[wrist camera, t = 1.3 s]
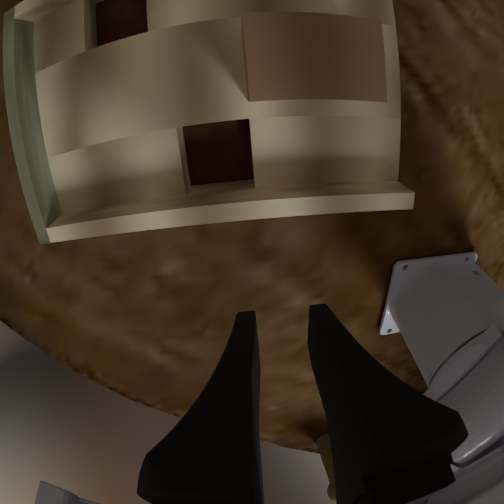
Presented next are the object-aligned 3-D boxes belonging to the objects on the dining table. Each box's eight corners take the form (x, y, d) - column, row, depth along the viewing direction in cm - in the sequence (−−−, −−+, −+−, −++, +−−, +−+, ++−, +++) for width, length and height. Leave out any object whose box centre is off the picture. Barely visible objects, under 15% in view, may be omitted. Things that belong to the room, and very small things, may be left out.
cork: (311, 446, 39) (320, 506, 29) (323, 431, 36) (335, 497, 26) (345, 443, 39) (357, 500, 30) (360, 427, 36) (376, 489, 27)
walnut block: (351, 34, 12) (381, 20, 9) (355, 99, 14) (387, 102, 11) (241, 32, 12) (241, 13, 9) (247, 100, 14) (249, 101, 11)
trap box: (373, -31, 11) (400, -50, 7) (385, 187, 19) (412, 209, 15) (37, 19, 11) (4, 13, 8) (67, 218, 19) (40, 244, 16)
